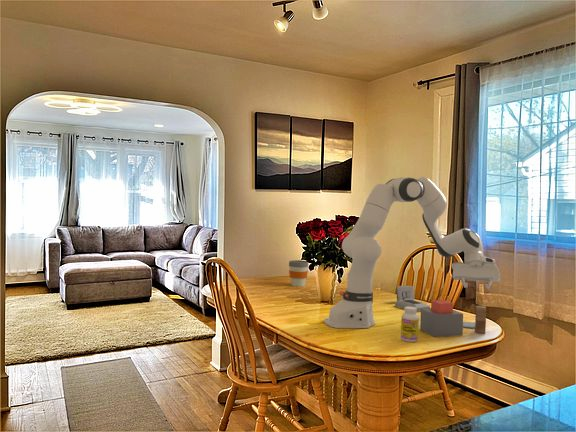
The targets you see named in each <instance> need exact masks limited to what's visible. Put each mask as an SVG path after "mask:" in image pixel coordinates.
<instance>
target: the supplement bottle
mask: <svg viewBox="0 0 576 432" xmlns="http://www.w3.org/2000/svg"><path fill="white" fill-rule="evenodd" d="M403 310H404V312H403V313H402V314H401V321H400V339H401V340H402V341H403V342H407V343H416V342H418V341H419V330H420V327H419V326H420V325H419V324H420V316H419V314H417V312H416V311H417V308H416V307H410V306H407V307H405V308H404V309H403Z"/></svg>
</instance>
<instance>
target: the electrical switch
mask: <svg viewBox="0 0 576 432" xmlns="http://www.w3.org/2000/svg"><path fill="white" fill-rule="evenodd" d="M395 293H396V301H398V300H406V299H410V300H414V301H416V300H415V292H414V287H413V286H412V285H398V286H396V288H395Z"/></svg>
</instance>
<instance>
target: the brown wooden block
mask: <svg viewBox="0 0 576 432" xmlns="http://www.w3.org/2000/svg"><path fill="white" fill-rule="evenodd" d="M474 317H475V329H474V332H475V334H479V335H480V334H484V335H485V334H486V329H487V327H486V326H487V323H486V322H487V307H486V306H485V305H475V316H474Z"/></svg>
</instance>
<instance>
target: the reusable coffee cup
mask: <svg viewBox="0 0 576 432" xmlns="http://www.w3.org/2000/svg"><path fill="white" fill-rule="evenodd" d="M306 261H307V260H298V259H297V260H289V261H288V267H289V270H288V274H289V278H290V285H291V286H293V287H305V286H306V280H307V277H308V272H309V270H308V268H309V262H306Z"/></svg>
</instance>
